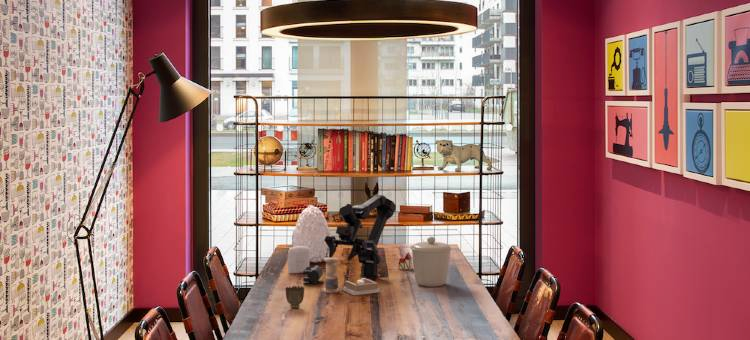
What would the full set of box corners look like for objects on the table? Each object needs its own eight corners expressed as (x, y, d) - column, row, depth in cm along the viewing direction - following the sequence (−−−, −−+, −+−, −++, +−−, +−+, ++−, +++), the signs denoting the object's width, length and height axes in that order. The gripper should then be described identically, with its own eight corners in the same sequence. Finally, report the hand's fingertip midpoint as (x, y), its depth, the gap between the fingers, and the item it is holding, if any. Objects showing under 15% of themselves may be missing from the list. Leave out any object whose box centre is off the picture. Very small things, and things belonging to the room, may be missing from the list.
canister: (424, 278, 391) (424, 232, 390) (459, 283, 381) (459, 236, 379) (401, 285, 377) (402, 237, 375) (437, 291, 366) (438, 241, 365)
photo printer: (307, 270, 408) (307, 244, 407) (310, 272, 404) (310, 246, 403) (286, 272, 403) (286, 246, 402) (290, 274, 399) (289, 247, 398)
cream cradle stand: (368, 287, 372) (368, 278, 372) (379, 292, 363) (379, 282, 363) (343, 290, 367) (343, 281, 366) (354, 295, 358) (354, 285, 357)
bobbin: (335, 288, 370) (335, 256, 368) (341, 291, 364) (341, 259, 363) (321, 290, 367) (321, 258, 365) (327, 293, 361) (327, 260, 360)
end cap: (318, 285, 377) (319, 270, 376) (302, 284, 377) (302, 269, 377) (323, 280, 387) (323, 265, 386) (307, 280, 387) (307, 265, 387)
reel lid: (366, 282, 384) (366, 276, 384) (373, 284, 379) (373, 278, 379) (354, 283, 382) (354, 278, 381) (361, 286, 376) (361, 280, 376)
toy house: (413, 270, 411) (413, 253, 410) (398, 270, 411) (398, 253, 410) (411, 268, 417) (411, 251, 416) (397, 268, 416) (397, 251, 416)
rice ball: (295, 255, 447) (295, 201, 445) (332, 255, 447) (332, 201, 445) (289, 265, 419) (289, 208, 417) (328, 266, 419) (328, 208, 417)
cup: (285, 305, 339) (285, 285, 339) (304, 305, 340) (304, 285, 339) (285, 310, 332) (285, 289, 331) (304, 310, 333) (304, 289, 332)
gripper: (326, 217, 378) (313, 246, 369) (364, 220, 369) (352, 249, 360) (335, 232, 385) (322, 261, 376) (372, 236, 377) (360, 265, 368)
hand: (339, 259), depth 370 cm, fingers open, 9 cm apart
